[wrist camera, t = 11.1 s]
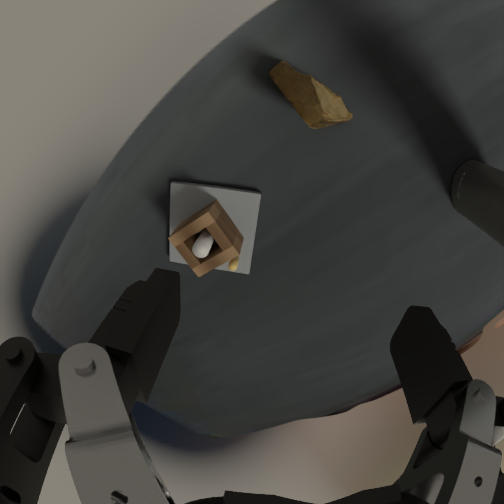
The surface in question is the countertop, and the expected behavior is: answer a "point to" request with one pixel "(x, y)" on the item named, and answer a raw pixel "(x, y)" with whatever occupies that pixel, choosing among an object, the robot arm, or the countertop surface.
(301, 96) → the rock
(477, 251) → the countertop surface
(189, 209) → the post board
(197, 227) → the wooden square frame
